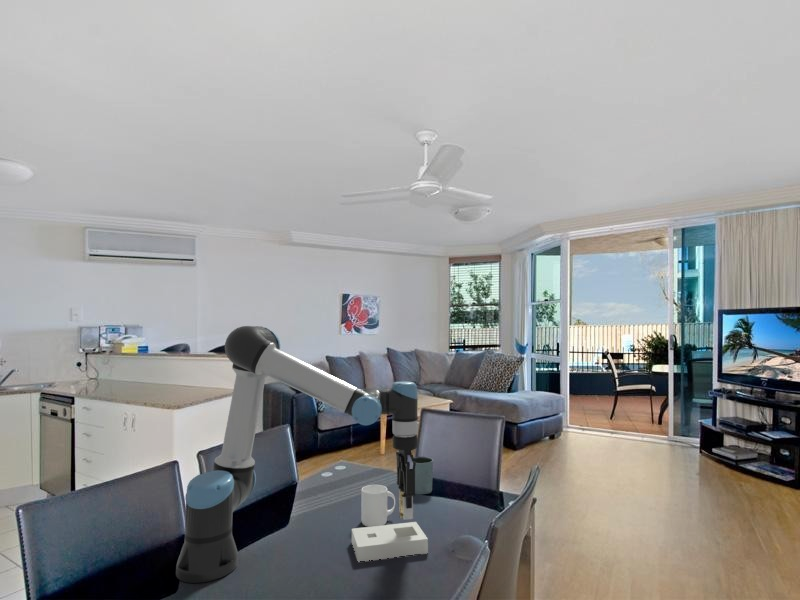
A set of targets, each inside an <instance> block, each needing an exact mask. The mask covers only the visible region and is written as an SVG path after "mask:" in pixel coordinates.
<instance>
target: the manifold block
mask: <svg viewBox="0 0 800 600" xmlns="http://www.w3.org/2000/svg"><path fill="white" fill-rule="evenodd" d="M351 545H353V546H352V548H354V549H353V552H354V551H355V552H354V555H355V559H356V561H358V562H357V563H361V562H360V561H365V562H372V561H371V560H373V561H379V559H381V560H388V559H387V558H389V559H395V558H394V557H397V558H400V557H399V556H405V557H407V556H406V555H413V556H415V555H414V554H421V555H427V553H428V554H429V539H428V537H427V535H426V533H424V531H423V530H422V528H421V527H420V525H419V524H418V522H417V521H411V522H410V521H409V522H402V523H401V522H400V523H390V524H384V525H381V526H372V527H368V526H365V527H356V528H355V527H354V528H351ZM369 560H370V561H369Z"/></svg>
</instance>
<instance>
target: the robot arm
mask: <svg viewBox="0 0 800 600" xmlns="http://www.w3.org/2000/svg"><path fill="white" fill-rule="evenodd" d="M224 351H225V355H226V357H227V359H228V360H229V361H230V362H231V363H232V366H231V367H232V370H233V372H234V374H235V379H234V385H233V391H232V394H231V395H232V396H231V401H230V407H229V411H228V417H227V423H226V428H225V432H224V437H223V443H222V448H221V453H220V454H219V455H218V456H216V457H215V458H214V462H213V466H212V470H210V471H206V472H204V473H200V474H197V475H196V476H195V477H193V478H191V480H190V481H189V482H188V483H187V486H186V493H185V496H184V497H185V518H184V519H185V522H184V543H182V547H181V549H180V550H181V551H180V554H179V556H178V559H177V562H176V565H175V577H176V578H177V579H178V580H179V581H181V582H184V583H189V584H197V583H198V584H200V583H206V582H211V581H216V580H218V579H221V578H223V577H225V576H227V575H229V574H231V573H233V571H234V570H236V568H237V566H238V565H239V553H238V549H237V545H236V542H235V539H234V536H233V513H234V511H235V510H236V509H237V508H238V507H240V506H241V504H242V503H243V502H245V501H246V500H247V499H248V498H249V497H250V496H251V494H252V492H253V491H254V489H255V486H256V483H257V475H256V471H255V466H256V465H255V464H256V461H255V459H254V458H253V457H252V453H253V448H254V442H255V436H256V432H257V425H258V421H259V416H260V415H259V414H260V409H261V404H262V399H263V394H264V389H265V388H264V387H265V383H266V378H267V377H270V378H272V379H275V380H276V381H279V382H280V383H282V384H285V385H286V386H289V387H291V388H293V389H295V390H297V391H299V392H301V393H303V394H305V395H307V396H309V397H311V398H312V399H313V398H314V399H315V400H318V401H319V402H322V403H323V404H326V405H327V406H330V407H331V408H334V409H336V410H338V411H340V412H342V413H344V414H346V415H348V416H349V417H352V418H353V419H354V421H355V422H356V423H358V424H359V425H362V426H370V425H372V424H375V423H376V421H378V419H380V417H381V415H392V422H391V423H392V429H391V430H392V434H393V436H392V448H393V449H395V450H397V451H396V452H395V455H396V485H397V487H398V492H399V491H400V490H404V494H403V495H402V497H403V519H402V520H405V521H406V520H413V519H414V497H415V496H416V494H415V466H416V463H415V461H414V457H415V456H414V455H413V450H416V449H418V447H419V436H418V435H417V434H418V432H419V431H418V429H419V428H418V427H419V426H420V422H418V407H419V406H418V404H419V403H418V386H417V384H416V383H415V382H413V381H394V382H393V383H392V384H391V388H362V389H361V388H358V387H356V386H354V385H352V384H350V383H348V382H347V381H344V380H342V379H340V378H338V377H336V376H334V375H332V374H330V373H327V372H326V371H323V370H322V369H320V368H318V367H315V366H313V365H312V364H310V363H307V362H306V361H303V360H301V359H299V358H298V357H295V356H293V355H291V354H289V353H287V352H285V351H283V350H281V343H280V339H279V337H278V335H277V334H276V333H275V332H274V331H273V330H272V329H270V328H267V327H263V326H258V325H257V326H253V325H243V326H242V325H241V326H239V327H237V328H235V329H233V330H231V332H230V333H229V334H228V336H227V337H226V340H225V343H224Z"/></svg>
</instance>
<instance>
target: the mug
mask: <svg viewBox="0 0 800 600" xmlns="http://www.w3.org/2000/svg"><path fill="white" fill-rule="evenodd" d="M360 493H361V498H360V499H361V506H360V509H361V511H360V512H361V513H360V517H361V519H360V520H361V523H362V525H363V526H365V527H372V526H381V525H387V524H386V523H387V522H388V516H390V515H391V514H393V512H394V510H395V507H396V496H395V495H394V493H392V492H391V491H389V490H388V488H387V486H385V485H382V484H369V485H365V486H363V487H362V488H361V492H360ZM388 497H391V498H392V499H393V503H394V504H393V506H392V508H391V509H390V508H389V509H388Z"/></svg>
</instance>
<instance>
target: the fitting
mask: <svg viewBox="0 0 800 600" xmlns="http://www.w3.org/2000/svg"><path fill="white" fill-rule="evenodd" d="M399 490H400V489H399ZM399 490H398V507H399V510H398V515H399V516H398V517H399V518H400V519H402V520H404V519H403V497H402V495H403V494H404V490H400V491H399Z"/></svg>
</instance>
